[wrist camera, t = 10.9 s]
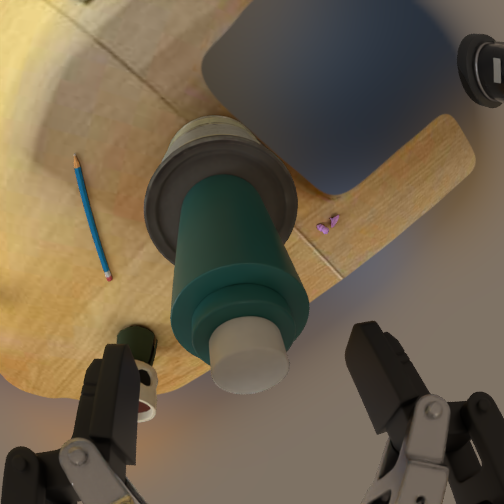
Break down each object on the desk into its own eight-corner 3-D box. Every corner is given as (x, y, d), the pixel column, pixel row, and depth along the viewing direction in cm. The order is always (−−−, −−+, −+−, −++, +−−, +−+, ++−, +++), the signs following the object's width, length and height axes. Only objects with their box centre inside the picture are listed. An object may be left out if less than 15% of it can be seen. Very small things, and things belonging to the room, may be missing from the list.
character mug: (172, 355, 46) (171, 426, 35) (133, 362, 46) (126, 430, 35) (143, 307, 41) (132, 383, 30) (101, 316, 40) (82, 389, 29)
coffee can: (279, 150, 32) (327, 196, 21) (224, 220, 36) (238, 298, 24) (202, 95, 28) (202, 103, 16) (147, 174, 32) (117, 235, 20)
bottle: (214, 157, 18) (237, 282, 8) (279, 205, 20) (360, 349, 10) (165, 223, 20) (139, 387, 9) (229, 262, 22) (259, 423, 12)
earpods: (328, 212, 39) (327, 206, 37) (339, 218, 38) (338, 212, 37) (316, 230, 39) (314, 225, 37) (326, 237, 38) (325, 232, 37)
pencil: (107, 278, 38) (106, 281, 37) (72, 152, 29) (70, 154, 28) (113, 277, 38) (112, 281, 37) (78, 151, 29) (76, 152, 28)
